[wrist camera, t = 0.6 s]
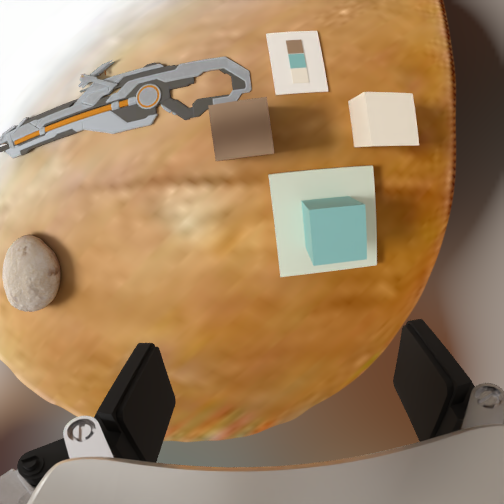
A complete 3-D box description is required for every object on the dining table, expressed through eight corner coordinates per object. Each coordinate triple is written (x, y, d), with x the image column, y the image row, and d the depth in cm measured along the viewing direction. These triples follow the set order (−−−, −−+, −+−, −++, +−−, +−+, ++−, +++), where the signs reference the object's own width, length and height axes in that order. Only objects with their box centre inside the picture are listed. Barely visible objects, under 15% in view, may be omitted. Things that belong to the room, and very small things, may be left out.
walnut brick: (217, 113, 32) (208, 105, 26) (266, 106, 32) (266, 97, 26) (223, 160, 34) (215, 161, 28) (272, 153, 33) (274, 153, 27)
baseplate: (268, 174, 34) (268, 174, 33) (370, 165, 33) (373, 165, 32) (280, 273, 37) (280, 277, 36) (374, 262, 37) (376, 265, 36)
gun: (254, 111, 33) (245, 36, 30) (253, 109, 31) (244, 30, 28) (4, 172, 35) (-1, 113, 32) (-5, 174, 33) (-9, 113, 29)
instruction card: (266, 34, 29) (265, 33, 28) (316, 31, 28) (317, 30, 28) (275, 95, 31) (275, 94, 31) (328, 91, 31) (328, 91, 30)
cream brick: (348, 101, 31) (364, 91, 25) (390, 101, 30) (412, 93, 25) (354, 147, 32) (371, 146, 27) (396, 145, 32) (419, 145, 26)
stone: (59, 229, 42) (19, 216, 34) (75, 276, 38) (29, 267, 31) (28, 281, 44) (-8, 274, 36) (41, 327, 40) (1, 324, 32)
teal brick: (301, 200, 34) (308, 210, 28) (348, 196, 33) (365, 204, 27) (305, 247, 35) (313, 265, 30) (351, 242, 35) (367, 259, 29)
